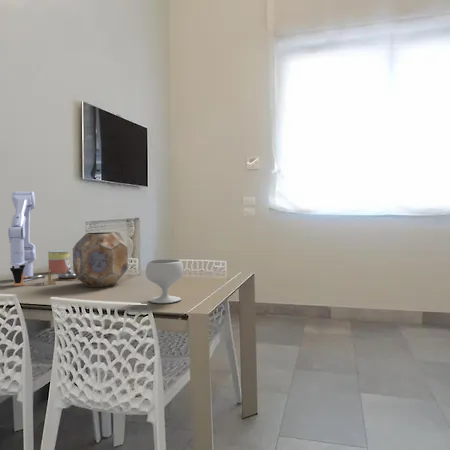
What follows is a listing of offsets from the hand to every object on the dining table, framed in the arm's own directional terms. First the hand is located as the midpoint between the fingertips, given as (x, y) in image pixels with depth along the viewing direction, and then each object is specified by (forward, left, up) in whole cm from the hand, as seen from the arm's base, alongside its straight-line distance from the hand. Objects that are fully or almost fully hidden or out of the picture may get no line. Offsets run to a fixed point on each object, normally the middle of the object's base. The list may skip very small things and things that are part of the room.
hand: (18, 282), depth 199 cm
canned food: (-12, +38, -2) cm, 41 cm away
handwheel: (+8, +23, -2) cm, 25 cm away
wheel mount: (+8, +23, -2) cm, 25 cm away
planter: (+36, +14, -2) cm, 38 cm away
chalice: (+82, -6, -2) cm, 82 cm away
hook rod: (+3, +3, -1) cm, 5 cm away
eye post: (+10, +10, -2) cm, 13 cm away
